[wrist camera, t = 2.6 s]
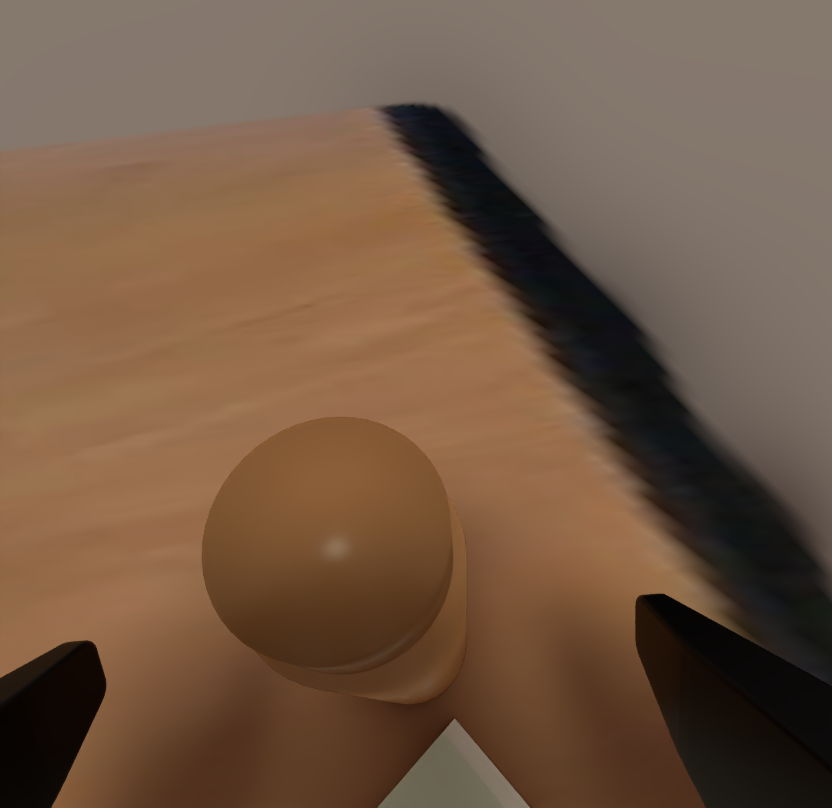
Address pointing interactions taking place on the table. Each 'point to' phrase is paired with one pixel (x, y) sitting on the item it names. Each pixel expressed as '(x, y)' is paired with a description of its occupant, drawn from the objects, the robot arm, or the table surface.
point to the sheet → (454, 778)
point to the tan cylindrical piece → (342, 561)
